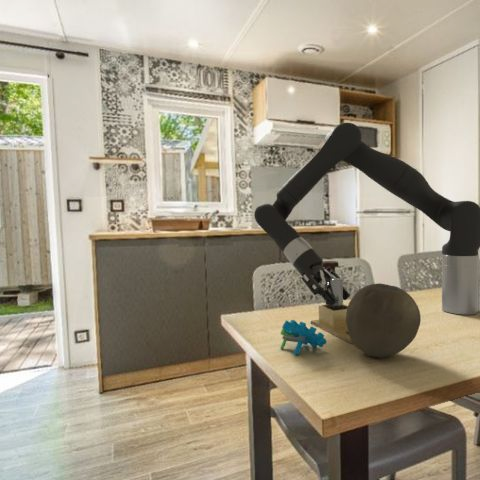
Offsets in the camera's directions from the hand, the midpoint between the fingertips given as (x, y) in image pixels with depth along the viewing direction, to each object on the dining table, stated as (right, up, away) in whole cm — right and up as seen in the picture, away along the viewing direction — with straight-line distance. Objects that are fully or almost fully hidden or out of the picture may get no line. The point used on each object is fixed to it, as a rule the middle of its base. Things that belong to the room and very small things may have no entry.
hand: (341, 300), depth 93 cm
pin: (-1, -6, +1) cm, 6 cm away
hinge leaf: (+1, -7, -2) cm, 8 cm away
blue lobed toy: (-13, -9, -15) cm, 22 cm away
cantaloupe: (+3, -8, -20) cm, 21 cm away
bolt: (+3, -6, +23) cm, 24 cm away
